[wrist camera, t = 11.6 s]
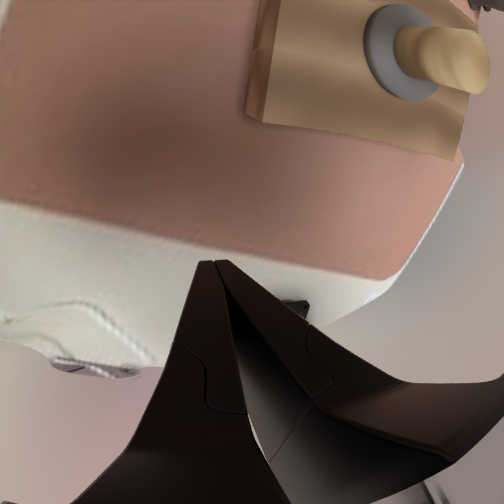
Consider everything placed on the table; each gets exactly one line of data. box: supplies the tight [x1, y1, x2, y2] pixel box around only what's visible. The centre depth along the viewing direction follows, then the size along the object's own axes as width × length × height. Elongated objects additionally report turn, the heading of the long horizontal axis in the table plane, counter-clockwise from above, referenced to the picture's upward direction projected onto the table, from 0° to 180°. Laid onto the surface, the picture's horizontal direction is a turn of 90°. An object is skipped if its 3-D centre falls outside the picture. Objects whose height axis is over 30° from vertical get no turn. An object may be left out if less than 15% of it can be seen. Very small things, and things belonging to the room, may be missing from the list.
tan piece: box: [363, 4, 490, 101], centre depth 13 cm, size 7×7×10 cm
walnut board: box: [244, 0, 478, 162], centre depth 16 cm, size 14×18×4 cm
